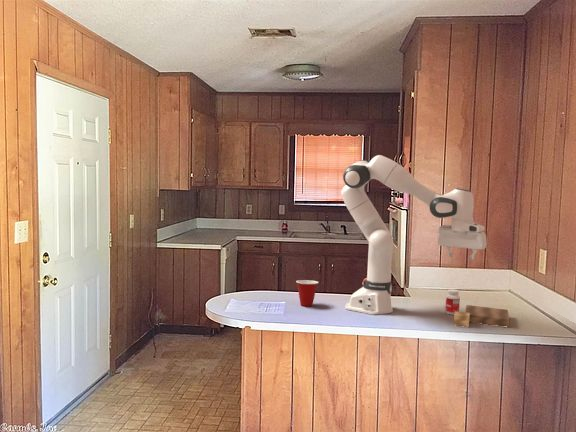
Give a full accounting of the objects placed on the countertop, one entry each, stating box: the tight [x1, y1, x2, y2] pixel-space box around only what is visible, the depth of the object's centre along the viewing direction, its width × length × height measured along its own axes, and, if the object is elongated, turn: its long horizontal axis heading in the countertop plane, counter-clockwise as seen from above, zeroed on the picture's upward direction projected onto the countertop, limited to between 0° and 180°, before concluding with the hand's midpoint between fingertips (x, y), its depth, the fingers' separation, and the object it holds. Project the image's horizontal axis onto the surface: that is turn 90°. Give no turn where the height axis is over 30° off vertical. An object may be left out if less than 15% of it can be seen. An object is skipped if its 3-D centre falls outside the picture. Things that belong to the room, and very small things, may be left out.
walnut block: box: [464, 304, 510, 328], centre depth 221 cm, size 18×18×4 cm
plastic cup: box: [295, 279, 319, 308], centre depth 236 cm, size 11×11×12 cm
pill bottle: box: [444, 288, 461, 316], centre depth 229 cm, size 6×6×11 cm
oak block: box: [453, 311, 470, 328], centre depth 211 cm, size 6×6×5 cm
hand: (461, 257), depth 211 cm, fingers open, 8 cm apart
